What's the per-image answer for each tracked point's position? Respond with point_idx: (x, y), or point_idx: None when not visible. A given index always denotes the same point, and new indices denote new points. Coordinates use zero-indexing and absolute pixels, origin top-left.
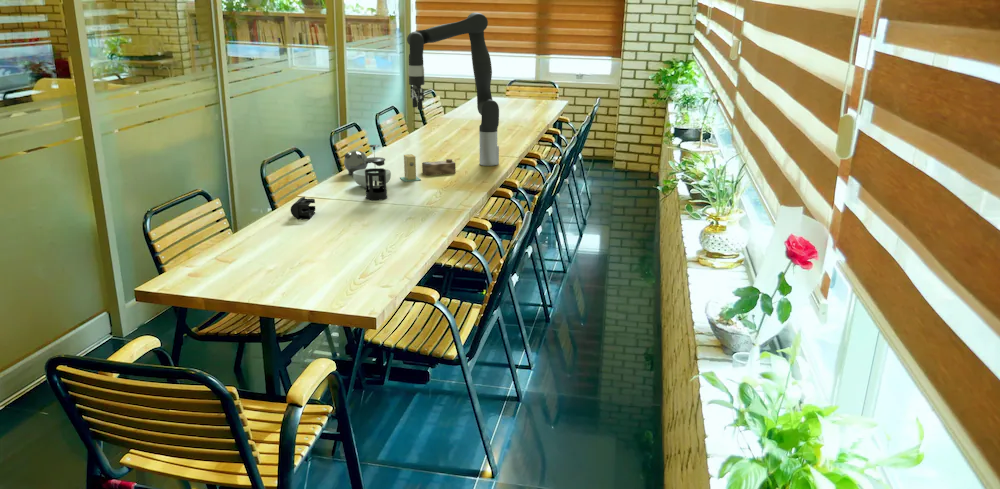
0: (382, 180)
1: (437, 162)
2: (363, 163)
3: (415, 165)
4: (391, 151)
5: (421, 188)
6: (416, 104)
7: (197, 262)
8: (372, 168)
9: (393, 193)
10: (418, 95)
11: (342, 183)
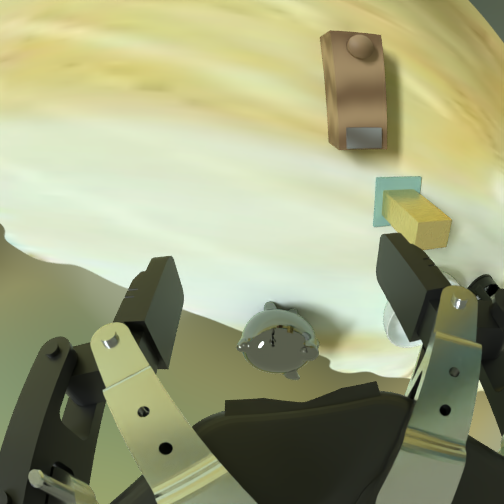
0: (485, 297)
1: (355, 92)
2: (310, 328)
3: (435, 206)
4: (4, 204)
5: (478, 199)
6: (166, 282)
7: None
8: (393, 314)
9: (475, 261)
10: (500, 403)
11: (354, 342)
